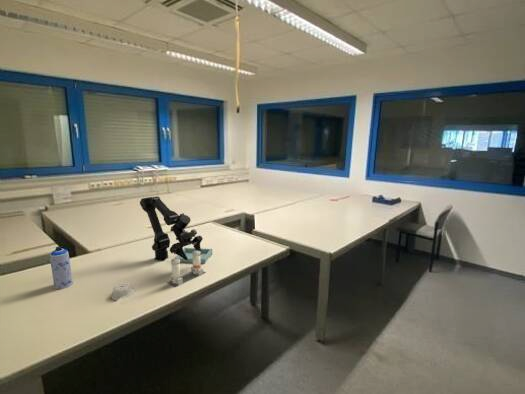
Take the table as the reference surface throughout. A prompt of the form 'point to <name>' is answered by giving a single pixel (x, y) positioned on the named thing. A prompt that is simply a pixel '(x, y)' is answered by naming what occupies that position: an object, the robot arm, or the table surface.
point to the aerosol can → (61, 268)
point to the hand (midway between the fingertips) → (194, 257)
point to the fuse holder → (186, 277)
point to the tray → (188, 252)
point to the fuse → (175, 270)
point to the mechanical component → (122, 291)
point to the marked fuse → (196, 262)
